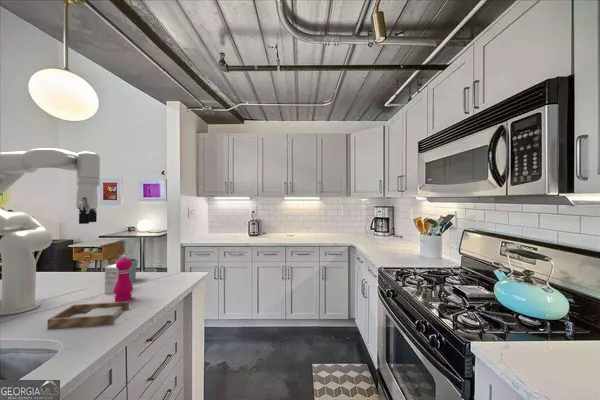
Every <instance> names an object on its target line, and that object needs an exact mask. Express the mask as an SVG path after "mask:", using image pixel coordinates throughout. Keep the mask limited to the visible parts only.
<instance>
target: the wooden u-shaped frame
mask: <svg viewBox="0 0 600 400" xmlns="http://www.w3.org/2000/svg"><path fill="white" fill-rule="evenodd" d="M106 307H122V311H128V310H130V301H123V302H116V301H114V302H97V303H80V304H72V305H70V306H69V307H67V308H65V309H64V310H62V311H60V312H59V313H56V314H55V315H53V316H52V317H50V318H48V319H47V327H46V328H47V329H60V328H74V327H87V326H88V327H89V326H101V325H103V326H104V325H113V324H114V323H115V319H114V315H98V316H84V315H82V316H83V317H82V316H72V315H74V314H79V313H81V314H82V313H88V312H89V311H91V310H92V309H94V308H106Z"/></svg>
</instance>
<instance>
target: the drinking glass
mask: <svg viewBox="0 0 600 400" xmlns="http://www.w3.org/2000/svg"><path fill="white" fill-rule="evenodd" d="M120 259H121V258H120ZM120 259H117V260H116V261H115V264H116V263H117V261H118V260H120ZM128 259H130V260H131V261H132V266H131V267H130V272H129V278H130V281H131V283H132V284H133V283H134V282H136V278H137V277H136V276H137V275H136V274H137V268H138V261H139V260H138V258H135V257H134V258H133V257H128Z"/></svg>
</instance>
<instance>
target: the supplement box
mask: <svg viewBox="0 0 600 400" xmlns="http://www.w3.org/2000/svg"><path fill="white" fill-rule="evenodd" d="M117 270H118V268H117V267H116V263H114V264H111V265H107V266H105V267H104V294H114V287H115V285H116V283H117V281H118V273H117Z"/></svg>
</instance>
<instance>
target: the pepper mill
mask: <svg viewBox="0 0 600 400" xmlns="http://www.w3.org/2000/svg"><path fill="white" fill-rule="evenodd" d="M128 258H129V257H128ZM128 258H127V255H126V254H123V255H121V258H120V260H119V259H117V260H118V261H117V263H116V262H115V264H116V267H117V268H118V270H117V273H118V281H117V283H116V285H115V287H114V293H113V294H114V295H115V296H114V302H129V301H130V300H131V299H132V298H133V297H132V292H133V291H134V290H133V289H134V286H133V282H132V283H131V281H130V278H129V272H130V267H131V266H132V261H131V260H130V259H128Z"/></svg>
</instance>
